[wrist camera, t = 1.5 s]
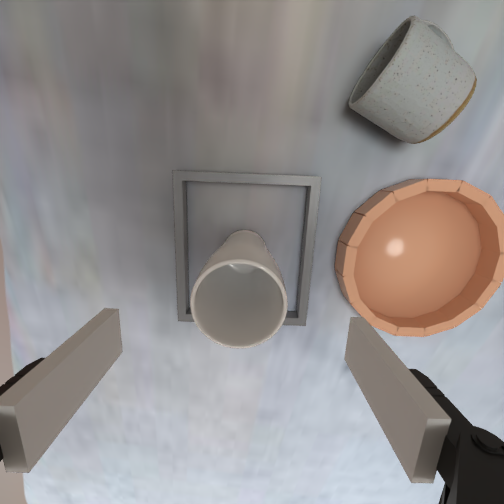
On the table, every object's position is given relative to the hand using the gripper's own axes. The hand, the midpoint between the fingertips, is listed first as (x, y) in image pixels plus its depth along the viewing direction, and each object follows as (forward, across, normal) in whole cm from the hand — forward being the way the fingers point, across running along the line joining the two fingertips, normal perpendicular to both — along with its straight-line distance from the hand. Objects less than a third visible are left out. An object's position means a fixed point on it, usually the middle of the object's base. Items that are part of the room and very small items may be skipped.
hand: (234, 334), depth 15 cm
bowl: (+18, +21, 0) cm, 27 cm away
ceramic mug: (+18, +15, +19) cm, 30 cm away
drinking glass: (+18, 0, 0) cm, 18 cm away
